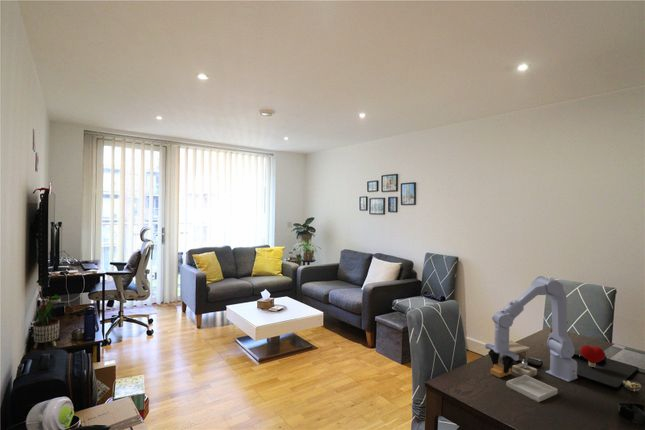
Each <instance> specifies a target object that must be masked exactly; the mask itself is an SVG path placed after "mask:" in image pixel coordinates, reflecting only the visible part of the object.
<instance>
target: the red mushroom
mask: <svg viewBox="0 0 645 430" xmlns="http://www.w3.org/2000/svg"><path fill="white" fill-rule="evenodd" d="M580 354H581V356H582V357H583V358H584V359H586V360H587V361H588V367H590V366H591V367H594V368H596V366H597V363H599V362H602V361H603V360H604V359H605V357H606V352H605V351H604V350H603V348H601V347H599V346H590V345H588V344H587V345H583V346H581V347H580ZM591 367H590V368H591Z"/></svg>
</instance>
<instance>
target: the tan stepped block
mask: <svg viewBox="0 0 645 430" xmlns="http://www.w3.org/2000/svg"><path fill="white" fill-rule="evenodd" d="M492 366H493V365H492ZM490 374H491V375H493V376H495V377H497V378H504V377H505V376H509V375H512V368H509V372H508V373H504V363H502V362H501V363H500V362H498V363H497V364H494V366H493V368H492V367H491V368H490Z"/></svg>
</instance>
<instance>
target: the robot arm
mask: <svg viewBox="0 0 645 430" xmlns="http://www.w3.org/2000/svg"><path fill="white" fill-rule="evenodd" d="M537 296H548V297H550V298H551V328H552V333H550V332H549V333H548V338H547V341H546V345H547V348H548V349H549V353H550V352H551V353H550V355H549V357H550V359H549V361H550V362H549V369H548V370H545V373H546V374H548V375H550V376H553V377H555V378H558V379H560V380H563V381H565V382H568V383H569V382H572V381H574V380H576V379H578V362H577V360H576V359H574V358H572V357H573V356H574V355H575V353H576V349H575V347H574V344H573V340H572V339H571V337H570V336H569V334H568V323H567V322H568V311H567V310H568V309H567V308H568V307H567V302H568V300H567V293H566V291H565V289H564V284H562V283H561V282H560V281H558V280H556V279H552V278H548V277H545V276H543V275H542V276H541V275H540V276H536V278H535V279H534V280H532V281H531V283H530V286H529V287H528V288H527V289H526V290H525V291H524V292H523V293H522V294H521V295H520V296H519V297H518V299H513V300H510V301H508V302H507V303H508V304H506V305H505V306H504V307H503V308H502V309H500V311H496V312H495V313H494V314H493V316H492V317H491V319H492V321H493V323H494V343H493V344H491V343H485V345H484V348H485V350H486V349H487V350H489V351H488V355H489V357H490V359H491V362H492V366H494V364H497V363H499V360H500V354H502V355H505V356H506V357H503V358H502V359H503V362H502V364H503V365H504V373H508V372H509V369H511V367H512V364H513V362H514V361H520V360H519V355H516V354H515V353H513V352H511V351H510V350H509V342H510V327H512V326H513V324H514V321H515V319H516V318H517V317H519V316H520V314H522V312H523V311H524V309H525V307H524V306H526V305H527V304H528V303H529V302H531V301H532V300H533V299H535V298H536V297H537Z"/></svg>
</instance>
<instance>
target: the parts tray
mask: <svg viewBox="0 0 645 430" xmlns="http://www.w3.org/2000/svg"><path fill="white" fill-rule="evenodd" d="M505 385H506V387H507V388H509V389H511V390H513V391H516V392H517V393H519V394H520V395H523V396H526V397H528V398H529V399H531V400H534V401H535V402H538V403H540V402H542V401H544V400H548V399H549V398H552V397H554V396H556V395H558V390H559V389H558V388H556V387H554V386H551V385H549V384H547V383H544V382H543V381H540V380H538V379H536V378H534V377H529V376H527V375H523V376H521V375H519V376H518V377H515V378H512V379H508V380H507V381H506V383H505Z"/></svg>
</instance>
